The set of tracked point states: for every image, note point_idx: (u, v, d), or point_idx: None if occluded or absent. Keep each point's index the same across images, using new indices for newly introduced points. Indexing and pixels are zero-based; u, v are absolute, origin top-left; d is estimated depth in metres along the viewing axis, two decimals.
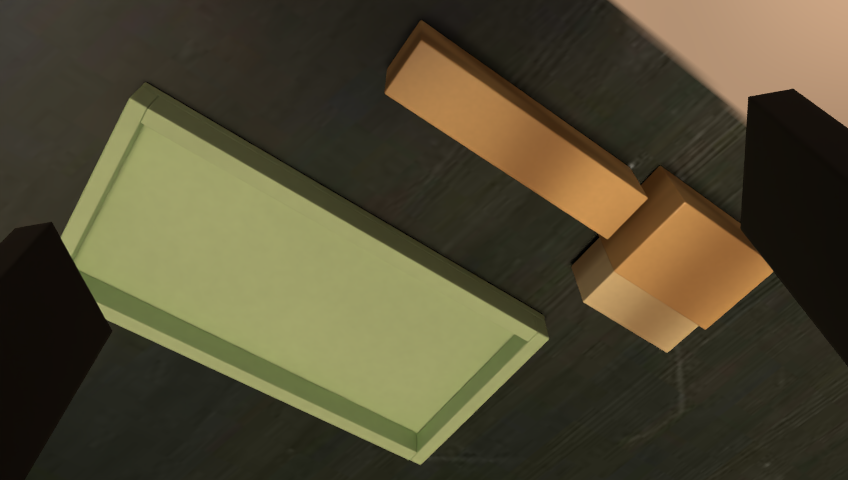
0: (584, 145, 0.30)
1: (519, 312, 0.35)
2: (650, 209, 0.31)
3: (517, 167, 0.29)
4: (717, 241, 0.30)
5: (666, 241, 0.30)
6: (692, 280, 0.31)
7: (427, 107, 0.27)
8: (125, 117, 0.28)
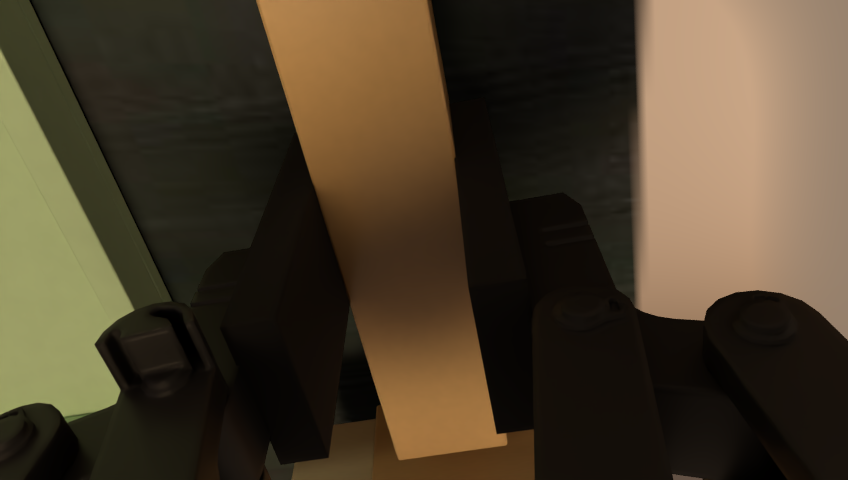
0: None
1: None
2: (487, 450, 0.17)
3: (362, 260, 0.13)
4: None
5: None
6: None
7: (294, 16, 0.11)
8: None
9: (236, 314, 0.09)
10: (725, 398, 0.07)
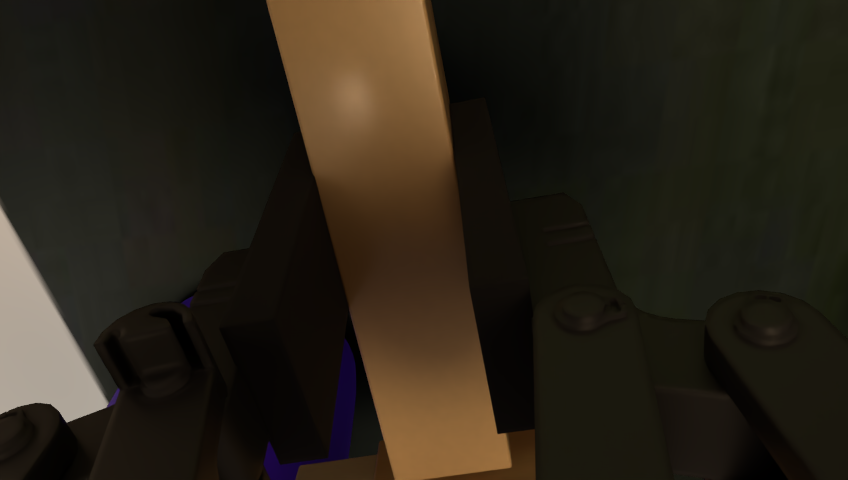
0: None
1: None
2: None
3: (358, 248, 0.13)
4: None
5: None
6: None
7: None
8: None
9: (235, 314, 0.09)
10: (727, 397, 0.07)
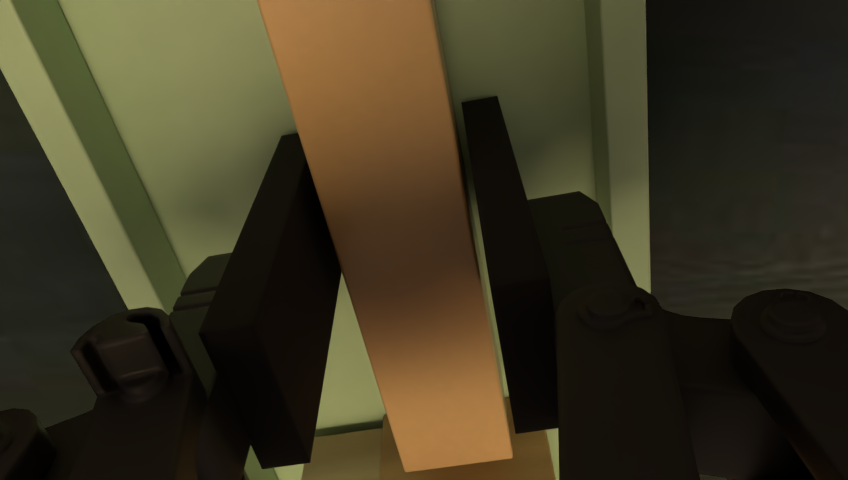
0: (489, 313, 0.15)
1: None
2: (493, 461, 0.17)
3: (370, 279, 0.13)
4: None
5: None
6: None
7: (302, 43, 0.11)
8: None
9: (215, 320, 0.09)
10: (754, 396, 0.07)
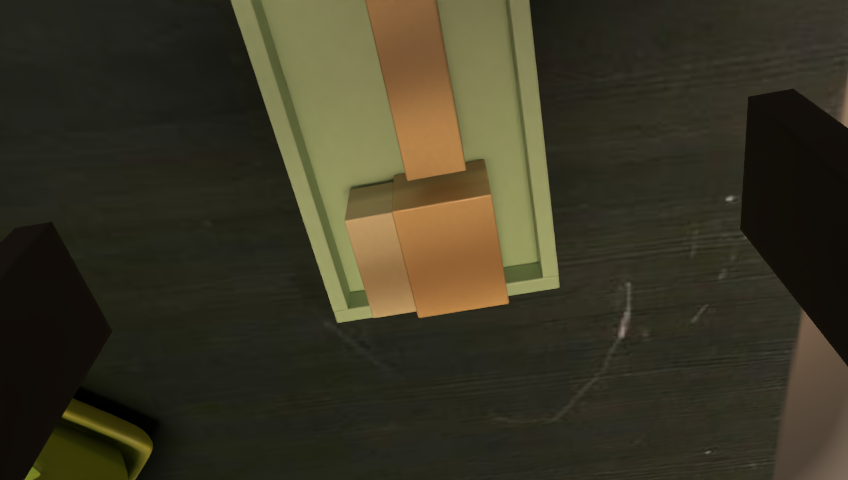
0: (451, 86, 0.29)
1: None
2: (456, 184, 0.31)
3: (390, 52, 0.27)
4: (486, 247, 0.31)
5: (451, 216, 0.30)
6: (443, 266, 0.31)
7: None
8: None
9: None
10: None
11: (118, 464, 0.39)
